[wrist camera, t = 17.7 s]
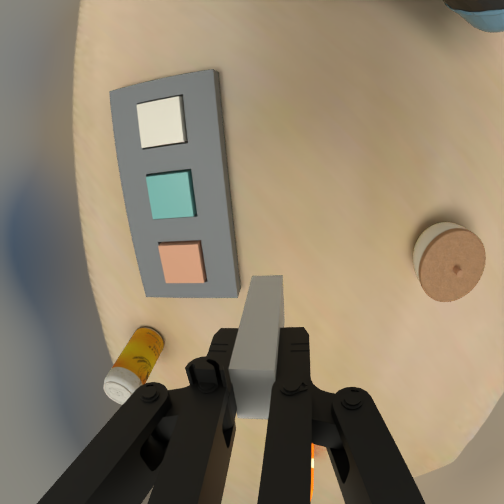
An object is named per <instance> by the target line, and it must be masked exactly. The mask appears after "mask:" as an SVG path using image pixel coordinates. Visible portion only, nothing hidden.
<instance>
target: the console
mask: <svg viewBox="0 0 504 504" xmlns="http://www.w3.org/2000/svg"><path fill="white" fill-rule="evenodd" d="M109 93H110V104H111V113H112V122H113V131H114V138H115V146H116V153H117V160H118V166H119V172H120V178H121V184H122V190H123V196H124V201H125V206H126V212H127V217H128V222H129V226H130V231H131V236H132V241H133V245H134V249H135V254H136V258H137V262H138V266H139V271H140V275H141V279H142V283H143V286H144V290H145V294H146V297H173V298H238V295H239V292H240V289H241V285H240V277H239V268H238V259H237V250H236V241H235V232H234V223H233V214H232V205H231V195H230V186H229V176H228V167H227V157H226V147H225V137H224V127H223V117H222V106H221V96H220V85H219V75H218V72H217V71H215V70H214V69H211V70H204V71H198V72H192V73H186V74H181V75H176V76H171V77H166V78H161V79H157V80H152V81H148V82H143V83H139V84H135V85H131V86H127V87H124V88H120V89H116V90H113V91H109ZM178 96H180V97H183V100H184V110H185V120H186V129H187V138H188V142H186V143H178V144H171V145H164V146H158V147H145V148H142V147H141V139H140V131H139V123H138V114H137V105H138V104H142V103H147V102H152V101H157V100H162V99H167V98H172V97H178ZM183 169H191V171H192V179H193V187H194V194H195V202H196V209H197V213H196V214H195V215H194V216H193V217H178V218H164V219H153V217H152V211H151V205H150V200H149V194H148V188H147V181H146V177H147V176H149V175H151V174H154V173H158V172H166V171H174V170H183ZM191 240H201V243H202V250H203V256H204V263H205V269H206V275H207V278H206V280H205V282H204V283H166V281H165V276H164V272H163V267H162V263H161V258H160V253H159V248H158V246H159V245H160V243H161V242H169V241H191Z"/></svg>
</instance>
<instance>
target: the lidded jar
mask: <svg viewBox="0 0 504 504" xmlns="http://www.w3.org/2000/svg"><path fill="white" fill-rule="evenodd" d="M485 260H486V256H485V249H484V246H483V243H482V242H481V240H480V239H479V238H478V237H477V235H475V234H474V233H473V232H471V231H469V230H467V229H466V228H464V227H463V226H460V225H458V224H455V223H451V222H441V223H437V224H434V225H432V226H430V227H429V228H427V229H426V230H425V231H424V232H423V233H422V234H421V235H420V237H419V238H418V240H417V242H416V244H415V247H414V251H413V265H414V270H415V273H416V275H417V278H418V280H419V281H420V283H421V286H422V288H423V289H424V291H425V293H426V294H427V295H428V296H429V297H431V298H432V299H434V300H436V301H440V302H451V301H454V300H457V299H460V298H462V297H463V296H465V295H466V294H468V293H469V292H470V291H471V290H472V289H473V288H474V287H475V286H476V284H477V283H478V281H479V280H480V278H481V276H482V273H483V271H484V267H485Z"/></svg>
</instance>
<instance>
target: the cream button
mask: <svg viewBox="0 0 504 504" xmlns="http://www.w3.org/2000/svg"><path fill="white" fill-rule="evenodd" d="M137 114H138V123H139V131H140V139H141V147H142V148H145V147H152V146H158V145H164V144H171V143H178V142H185V141H188V138H187V129H186V120H185V110H184V100H183V97H180V96H178V97H172V98H167V99H162V100H157V101H152V102H147V103H142V104H138V105H137Z"/></svg>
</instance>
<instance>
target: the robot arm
mask: <svg viewBox="0 0 504 504" xmlns="http://www.w3.org/2000/svg"><path fill="white" fill-rule="evenodd" d="M443 1H444V2H445V5H446V6H447V7H448V8H449V9H451V10H453V11H454V12H456V13H458V14H459V15H460V16H461V17H463V18H464V19H465V20H466V21H467V22H468V23H469V24H471V25H472V26H473V27H475V28H477V29H479V30H482V31H485V32H503V31H504V0H443ZM185 369H186V373H187V376H188V379H189V383H190V386H187V387H185V388H180V389H174V390H167V388H166V387H165V386H164V385H162V384H160V383H156V382H151V383H146V384H143V385H141V386H140V387H138V388H137V389H136V390H135V391H134V392H133V393H132V395H131V396H130V397H129V398H128V399H127V400H126V402H125V403H124V404H123V405H122V406H121V407H120V409H119V410H118V411H117V412H116V413H115V414H114V416H113V417H112V418H111V419H110V420H109V421H108V422H107V424H106V425H105V426H104V427H103V428H102V429H101V430H100V432H99V433H98V434H97V435H96V436H95V437H94V439H93V440H92V441H91V442H90V443H89V444H88V446H87V447H86V448H85V449H84V450H83V451H82V452H81V454H80V455H79V456H78V457H77V458H76V459H75V461H74V462H73V463H72V464H71V465H70V466H69V467H68V469H67V470H66V471H65V472H64V473H63V474H62V475H61V477H60V478H59V479H58V480H57V481H56V482H55V484H54V485H53V486H52V487H51V488H50V489H49V490H48V491H47V493H46V494H45V495H44V496H43V497H42V498H41V499H40V501H39V502H38V503H37V504H141V503H142V502H143V500H144V499H145V497H146V496H147V494H148V493H149V491H150V490H151V489H152V487H153V486H154V487H153V490H152V492H151V495H150V498H149V501H148V504H221V501H222V496H223V491H224V486H225V481H226V476H227V472H228V467H229V462H230V457H231V452H232V447H233V441H234V436H235V431H236V425H235V416H236V411H237V416H238V418H248V419H268V425H267V434H266V442H265V450H264V458H263V466H262V473H261V481H260V488H259V495H258V503H257V504H310V501H311V460H312V444H316V445H320V446H324V447H326V448H327V451H328V454H329V457H330V460H331V463H332V466H333V469H334V472H335V475H336V477H337V480H338V483H339V486H340V489H341V492H342V495H343V498H344V501H345V504H425V502H424V500H423V498H422V496H421V493H420V491H419V489H418V487H417V485H416V484H415V481H414V479H413V477H412V475H411V473H410V471H409V469H408V467H407V465H406V463H405V461H404V459H403V457H402V455H401V453H400V451H399V449H398V447H397V445H396V443H395V441H394V439H393V438H392V436H391V434H390V432H389V430H388V428H387V426H386V424H385V422H384V420H383V418H382V416H381V414H380V413H379V411H378V409H377V407H376V405H375V403H374V401H373V399H372V397H371V396H370V395H369V394H368V392H367V391H365V390H363V389H361V388H357V387H347V388H344V389H341V390H339V391H338V392H337V393H336V394H334V393H329V392H325V391H322V390H320V389H319V388H317V387H316V386H315V385H314V384H313V383H312V381H311V377H310V349H309V334H308V333H307V331H306V330H305V328H304V327H287V328H284V297H283V275H273V276H252V278H251V282H250V286H249V290H248V294H247V298H246V302H245V306H244V310H243V314H242V318H241V322H240V326H239V328H221V329H220V330H219V331H218V332H217V333H216V334H215V335H214V337H213V339H212V342H211V345H210V348H209V352H208V354H207V356H206V357H199V358H196V359H194V360H192V361H191V362H189V363H188V364H187V366H186V367H185Z"/></svg>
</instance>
